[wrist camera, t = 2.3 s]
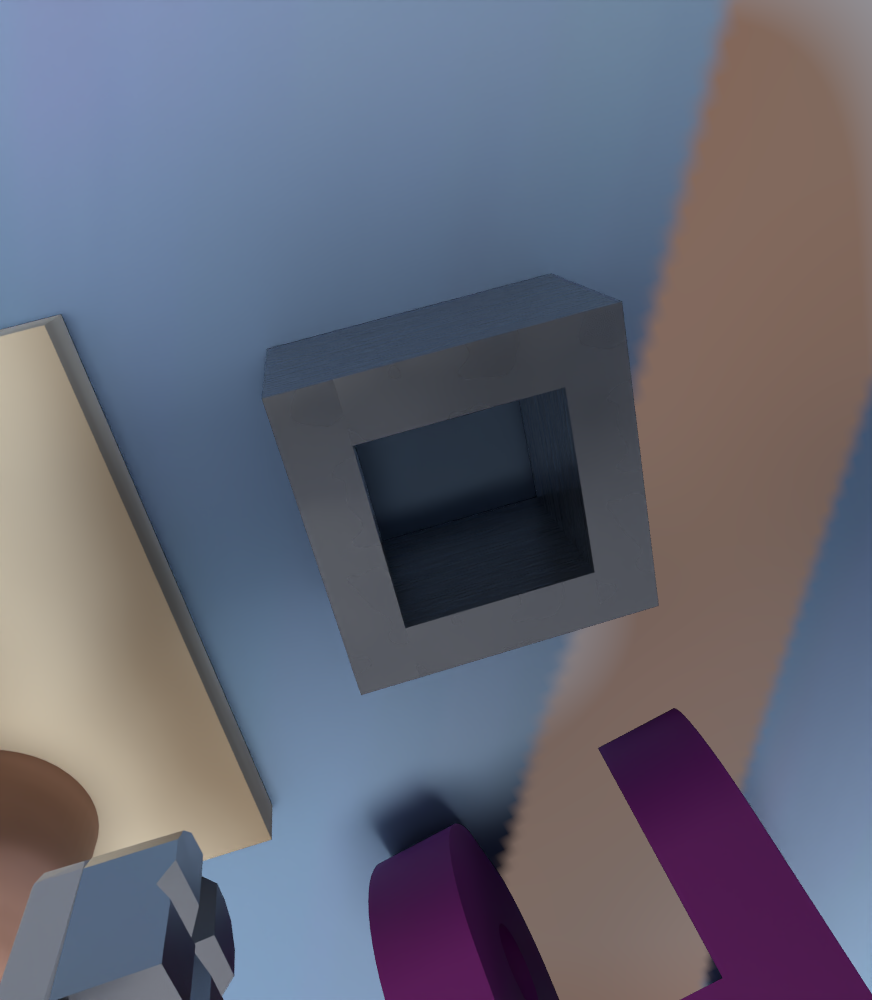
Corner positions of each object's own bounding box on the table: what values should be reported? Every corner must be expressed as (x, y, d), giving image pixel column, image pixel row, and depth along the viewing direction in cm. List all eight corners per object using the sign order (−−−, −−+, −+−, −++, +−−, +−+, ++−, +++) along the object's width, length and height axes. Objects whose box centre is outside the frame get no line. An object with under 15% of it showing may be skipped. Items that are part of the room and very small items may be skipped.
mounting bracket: (700, 822, 34) (661, 665, 20) (831, 1041, 29) (902, 1037, 15) (509, 922, 34) (338, 836, 20) (603, 1157, 29) (459, 1262, 15)
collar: (551, 273, 17) (622, 301, 14) (591, 526, 20) (658, 605, 16) (266, 349, 17) (262, 398, 13) (347, 597, 20) (360, 694, 16)
